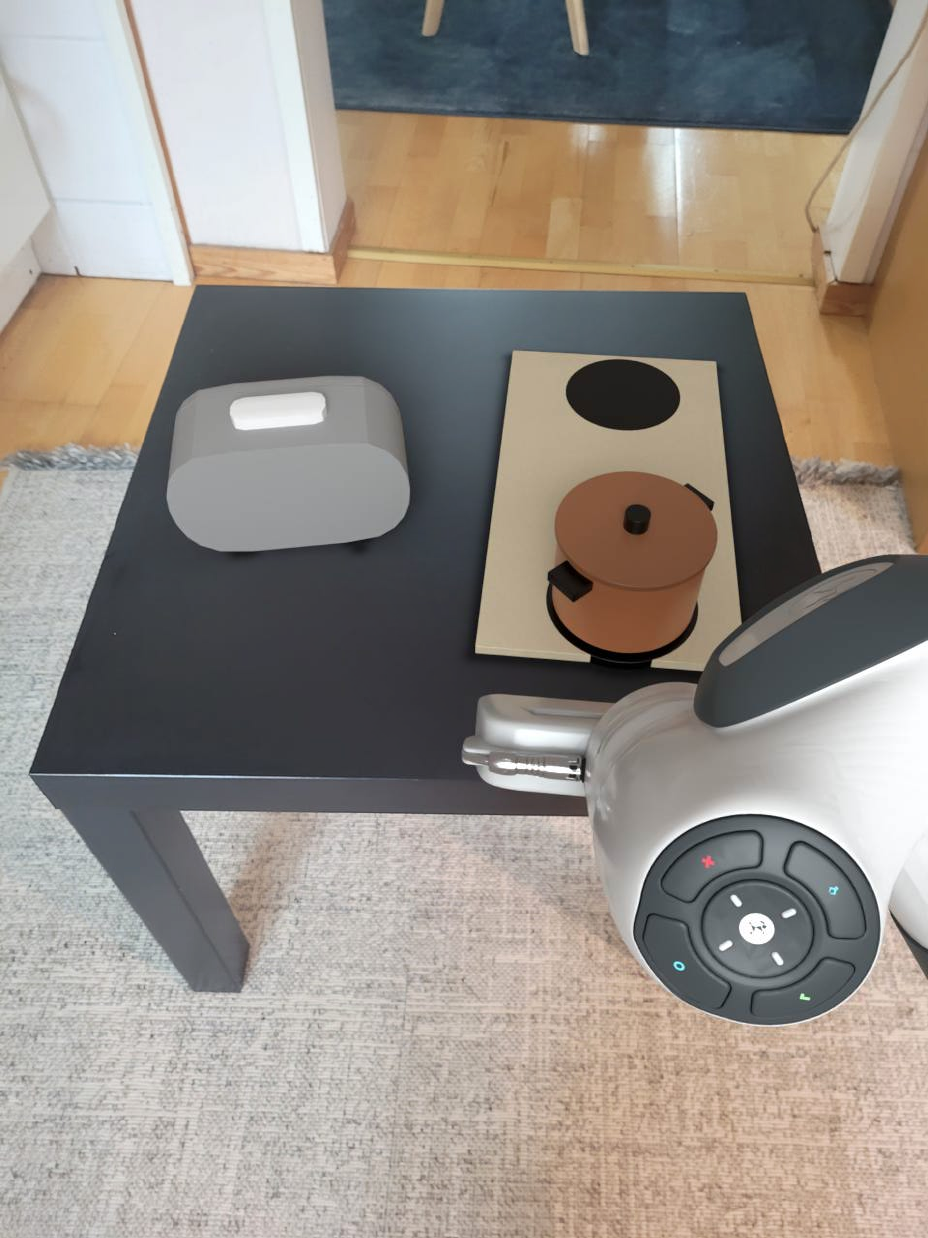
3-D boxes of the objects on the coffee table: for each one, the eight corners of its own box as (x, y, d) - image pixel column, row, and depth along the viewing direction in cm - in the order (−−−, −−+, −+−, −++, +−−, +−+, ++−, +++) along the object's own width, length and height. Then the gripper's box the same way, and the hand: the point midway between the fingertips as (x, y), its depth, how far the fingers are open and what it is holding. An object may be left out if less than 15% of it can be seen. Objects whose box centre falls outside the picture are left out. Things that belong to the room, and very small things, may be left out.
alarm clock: (405, 472, 92) (396, 356, 82) (414, 541, 86) (405, 427, 76) (194, 491, 91) (157, 376, 80) (188, 563, 85) (147, 449, 74)
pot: (633, 519, 86) (650, 429, 78) (739, 600, 80) (769, 512, 72) (504, 602, 80) (507, 513, 72) (607, 696, 74) (623, 612, 66)
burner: (677, 369, 102) (678, 361, 101) (681, 442, 94) (682, 434, 94) (566, 363, 103) (567, 355, 102) (562, 434, 95) (562, 426, 95)
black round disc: (693, 559, 84) (695, 551, 84) (700, 676, 76) (702, 669, 76) (549, 548, 85) (549, 541, 85) (540, 663, 77) (541, 656, 77)
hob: (714, 368, 102) (716, 361, 101) (743, 674, 76) (746, 667, 76) (512, 357, 104) (513, 349, 103) (475, 653, 78) (475, 646, 77)
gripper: (452, 826, 44) (473, 754, 58) (895, 867, 43) (810, 784, 57) (460, 696, 44) (480, 654, 57) (912, 733, 42) (821, 681, 56)
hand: (647, 719), depth 57 cm, fingers closed
